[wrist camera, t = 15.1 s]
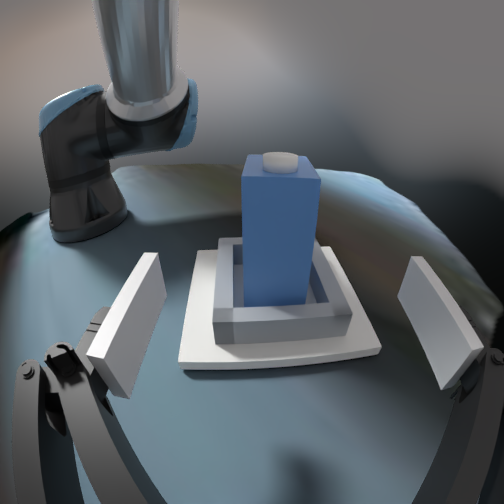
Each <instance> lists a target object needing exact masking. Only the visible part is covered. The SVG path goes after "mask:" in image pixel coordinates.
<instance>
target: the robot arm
mask: <svg viewBox="0 0 504 504" xmlns="http://www.w3.org/2000/svg"><path fill="white" fill-rule="evenodd" d="M92 5H93V10H94V15H95V19H96V24H97V28H98V32H99V36H100V40H101V44H102V48H103V52H104V56H105V59H106V63H107V67H108V70H109V74H110V77H111V80H112V82H111V84H110V86H109V88H108V90H107V91H104V89H103V88H102V86H101V85H91V86H87V87H84V88H81V89H76V90H74V91H71V92H68V93H66V94H64V95H61V96H59V97H57V98H56V99H54V100H52V101H50V102H49V103H47V104H46V105H45V106H44V107H43V108H42V110H41V112H40V114H39V137H40V140H41V147H42V153H43V159H44V165H45V170H46V175H47V180H48V184H49V188H50V221H49V225H50V230H51V233H52V236H53V238H54V239H55V240H56V241H59V242H77V241H82V240H86V239H89V238H92V237H95V236H98V235H100V234H103V233H105V232H107V231H109V230H111V229H113V228H114V227H116V226H117V225H119V224H120V223H121V222H122V221H123V220H124V219H125V218H126V216H127V207H126V202H125V199H124V197H123V195H122V194H121V192H120V190H119V188H118V186H117V184H116V182H115V180H114V178H113V176H112V174H111V170H110V163H109V159H114V158H119V157H125V156H130V155H136V154H143V153H149V152H156V151H164V150H165V151H171V150H173V149H177V148H183V147H186V146H187V145H189V144H190V143H191V142H192V140H193V137H194V134H195V130H196V123H197V118H196V116H197V111H198V92H197V85H196V82H195V81H194V80H192V79H188V78H187V77H186V74H185V73H184V71H183V70H182V69H181V68H180V67H178V66H177V34H178V11H179V0H92ZM166 297H167V293H166V288H165V284H164V279H163V275H162V270H161V265H160V261H159V256H158V253H144V254H143V255H142V257H141V258H140V260H139V262H138V263H137V265H136V266H135V268H134V270H133V271H132V273H131V274H130V276H129V278H128V279H127V281H126V283H125V284H124V286H123V288H122V289H121V291H120V293H119V294H118V296H117V298H116V300H115V301H114V303H113V305H112V307H102V308H101V309H100V310H99V311H98V312H97V313H96V314H95V315H94V317H93V319H92V320H91V322H90V324H89V326H88V327H87V329H86V330H87V331H85V333H84V334H83V336H82V338H81V340H80V342H79V344H78V345H77V347H76V349H75V351H74V349H73V348H72V346H71V345H70V344H69V343H67V342H58V343H55V344H54V345H52V346H50V348H49V349H48V350H47V351H46V353H45V356H44V362H45V363H46V364H47V366H48V367H41V366H40V364H39V363H38V362H37V361H36V360H34V359H29V360H26V361H24V362H23V363H22V364H21V365H20V366H19V368H18V370H17V374H16V381H15V390H14V401H13V416H12V457H13V472H14V482H15V490H16V497H17V503H18V504H84V500H83V496H82V492H81V487H80V483H79V478H78V472H77V467H76V461H75V454H74V447H73V442H74V444H75V447H76V450H77V452H78V455H79V457H80V460H81V462H82V465H83V467H84V469H85V472H86V474H87V476H88V478H89V481H90V483H91V485H92V487H93V489H94V491H95V493H96V495H97V497H98V499H99V501H100V502H101V504H167V503H166V501H165V500H164V498H163V497H162V496H161V494H160V493H159V491H158V490H157V488H156V487H155V485H154V484H153V482H152V481H151V479H150V478H149V476H148V474H147V473H146V471H145V470H144V468H143V466H142V465H141V463H140V461H139V460H138V458H137V456H136V454H135V452H134V451H133V449H132V447H131V445H130V443H129V441H128V440H127V438H126V436H125V434H124V432H123V430H122V428H121V426H120V424H119V422H118V420H117V417H116V415H115V413H114V411H113V409H112V407H111V404H110V402H109V400H108V398H107V397H106V394H107V391H108V389H109V390H110V391H111V393H112V394H113V395H114V396H118V397H122V398H127V399H130V397H131V394H132V390H133V387H134V384H135V381H136V378H137V375H138V373H139V370H140V367H141V364H142V361H143V358H144V355H145V353H146V350H147V347H148V344H149V341H150V339H151V336H152V333H153V331H154V328H155V325H156V323H157V320H158V318H159V315H160V312H161V310H162V307H163V305H164V302H165V300H166ZM397 297H398V299H399V301H400V303H401V304H402V306H403V308H404V310H405V312H406V314H407V316H408V318H409V320H410V322H411V324H412V326H413V328H414V330H415V332H416V334H417V336H418V338H419V340H420V343H421V345H422V347H423V349H424V351H425V353H426V356H427V358H428V360H429V362H430V365H431V367H432V369H433V372H434V374H435V376H436V379H437V381H438V384H439V386H440V389H441V390H444V389H447V388H450V387H453V386H454V385H455V384H456V383H457V381H458V380H459V379H460V380H461V383H462V384H461V385H460V386H459V387H458V389H457V390H456V391H455V392H454V393H453V394H452V395H451V397H450V398H451V399H452V398H453V397H454V396H455V395H456V394H457V396H456V398H455V403H454V406H453V409H452V413H451V416H450V419H449V422H448V425H447V428H446V430H445V433H444V436H443V438H442V441H441V444H440V446H439V449H438V451H437V453H436V456H435V458H434V460H433V463H432V465H431V467H430V469H429V471H428V473H427V476H426V478H425V480H424V482H423V484H422V486H421V487H420V489H419V491H418V493H417V495H416V497H415V499H414V500H413V502H412V504H476V503H477V500H478V498H479V495H480V498H479V503H478V504H504V354H503V353H502V352H501V351H499V350H498V349H495V348H491V349H490V347H489V346H488V344H487V342H486V340H485V339H484V337H483V335H482V334H481V332H480V330H479V329H478V327H476V324H475V323H474V321H473V319H472V318H471V316H470V315H469V313H468V312H467V311H466V310H465V309H464V308H462V307H461V306H458V305H457V303H456V302H455V300H454V299H453V297H452V296H451V294H450V293H449V292H448V290H447V289H446V287H445V286H444V285H443V283H442V282H441V280H440V279H439V278H438V276H437V275H436V274H435V272H434V271H433V270H432V268H431V267H430V266H429V265H428V263H427V262H426V261H425V259H424V258H423V257H418V256H411V259H410V262H409V265H408V268H407V271H406V274H405V277H404V280H403V282H402V285H401V288H400V291H399V293H398V296H397Z"/></svg>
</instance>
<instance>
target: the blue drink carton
mask: <svg viewBox="0 0 504 504" xmlns="http://www.w3.org/2000/svg"><path fill="white" fill-rule="evenodd" d="M241 179H242V241H243V289H244V307H267V306H286V305H303V304H305V303H306V297H307V290H308V284H309V277H310V270H311V263H312V255H313V248H314V240H315V231H316V223H317V214H318V204H319V194H320V184H321V178H320V177H319V175H318V174H317V172H316V171H315V169H314V168H313V166H312V165H311V163H310V162H309V160H308V159H307V157H305V156H297V155H295V154H292V153H285V152H269V153H265V154H263V155H248V157H247V160H246V163H245V166H244V170H243V173H242V176H241Z"/></svg>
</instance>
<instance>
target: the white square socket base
mask: <svg viewBox="0 0 504 504" xmlns="http://www.w3.org/2000/svg"><path fill="white" fill-rule="evenodd" d="M381 347H382V346H381V344H380V342H379V340H378V337H377V335H376V333H375V331H374V329H373V327H372V325H371V323H370V321H369V319H368V317H367V315H366V313H365V311H364V309H363V307H362V305H361V303H360V301H359V299H358V297H357V295H356V293H355V291H354V290H353V288H352V286H351V284H350V282H349V280H348V278H347V276H346V275H345V273H344V271H343V269H342V267H341V265H340V264H339V262H338V260H337V258H336V256H335V255H334V253H333V251H332V249H331V247H320V245H319V243H318V241H317V240H316V238H315V240H314V248H313V255H312V263H311V270H310V277H309V284H308V290H307V297H306V303H305V304H303V305H286V306H267V307H244V289H243V241H242V237H237V238H219V243H218V250H198V252H197V257H196V262H195V267H194V272H193V277H192V282H191V287H190V293H189V298H188V304H187V309H186V315H185V321H184V327H183V333H182V339H181V345H180V352H179V359H178V363H179V366H180V369H191V370H230V369H258V368H274V367H287V366H298V365H308V364H317V363H325V362H333V361H340V360H347V359H353V358H359V357H365V356H371V355H376V354H378V353H379V351H380V349H381Z"/></svg>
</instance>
